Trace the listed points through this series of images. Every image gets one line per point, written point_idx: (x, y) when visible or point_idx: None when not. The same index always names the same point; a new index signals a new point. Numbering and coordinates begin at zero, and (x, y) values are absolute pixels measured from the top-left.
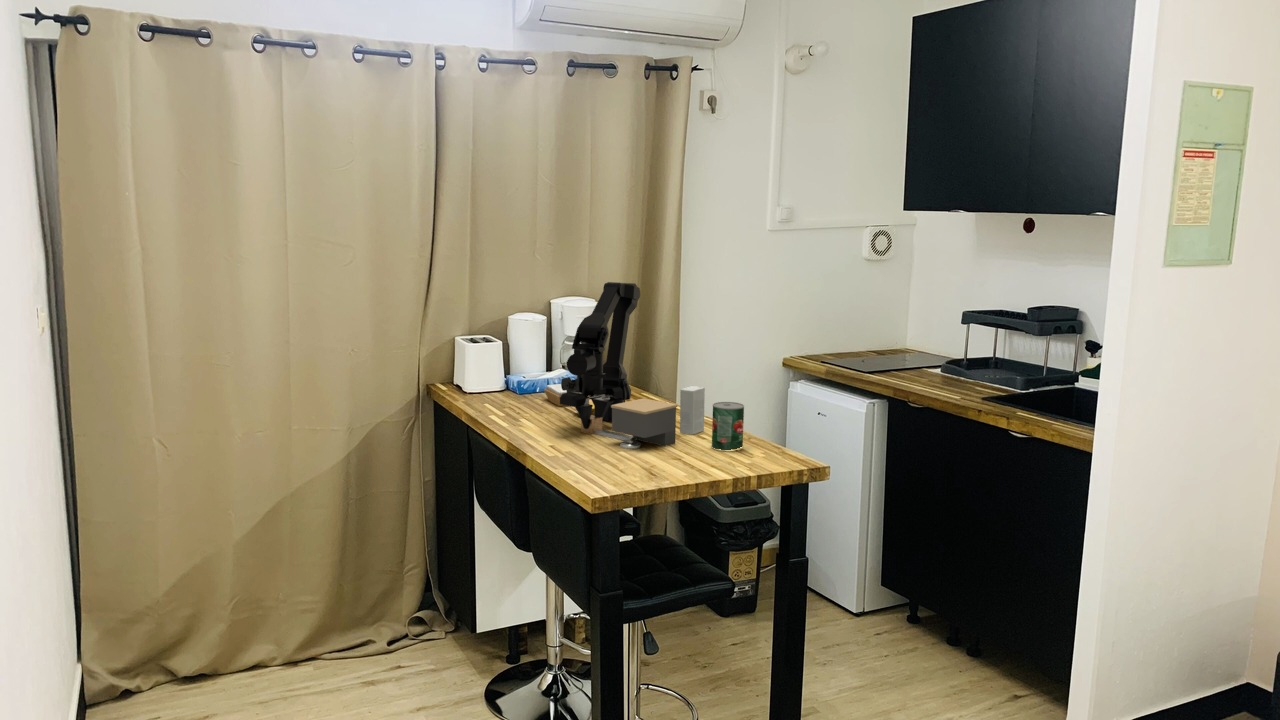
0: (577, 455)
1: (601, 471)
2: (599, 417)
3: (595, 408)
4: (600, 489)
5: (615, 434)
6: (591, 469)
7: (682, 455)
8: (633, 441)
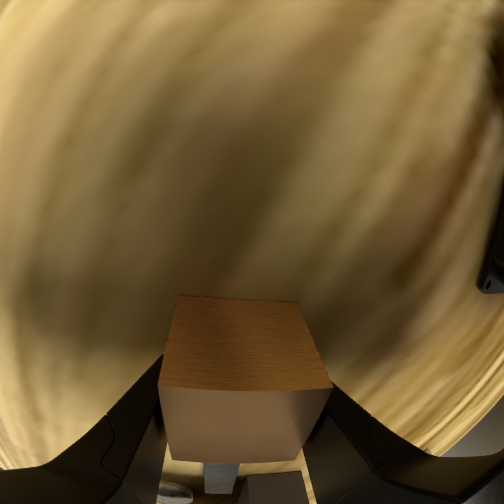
0: (3, 424)
1: (21, 465)
2: (274, 457)
3: (358, 465)
4: (4, 466)
5: (208, 468)
6: (9, 455)
7: None
8: (185, 497)
